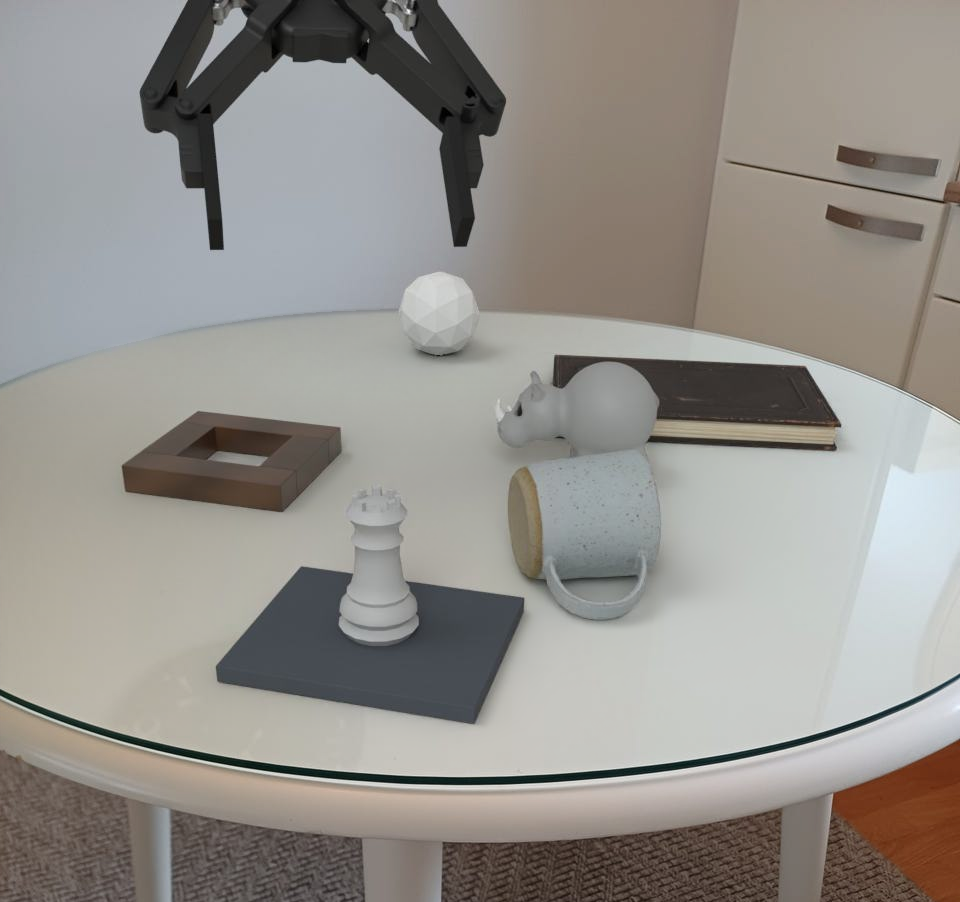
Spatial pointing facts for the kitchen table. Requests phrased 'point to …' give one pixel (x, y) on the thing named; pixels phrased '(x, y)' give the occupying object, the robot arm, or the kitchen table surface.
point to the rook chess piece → (377, 573)
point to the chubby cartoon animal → (584, 411)
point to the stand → (270, 486)
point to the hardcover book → (727, 402)
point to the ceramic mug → (586, 525)
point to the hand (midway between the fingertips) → (343, 234)
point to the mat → (377, 649)
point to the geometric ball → (439, 313)
